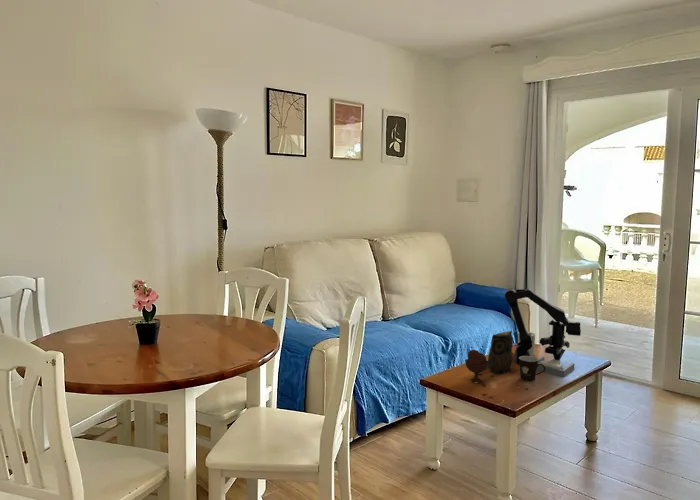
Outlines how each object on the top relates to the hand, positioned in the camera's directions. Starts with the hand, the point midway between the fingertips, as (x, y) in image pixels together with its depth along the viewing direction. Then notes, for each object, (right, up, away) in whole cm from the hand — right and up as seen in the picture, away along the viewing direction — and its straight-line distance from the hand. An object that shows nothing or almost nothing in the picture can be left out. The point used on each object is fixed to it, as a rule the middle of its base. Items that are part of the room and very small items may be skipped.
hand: (556, 363), depth 262 cm
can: (-9, +1, +20) cm, 22 cm away
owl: (-31, -2, -5) cm, 32 cm away
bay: (-3, -2, -4) cm, 5 cm away
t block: (-4, -2, -5) cm, 7 cm away
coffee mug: (-20, -4, -19) cm, 28 cm away
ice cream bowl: (-46, -4, -21) cm, 51 cm away
